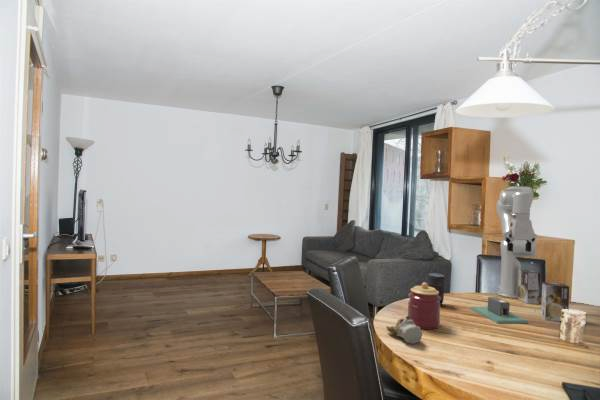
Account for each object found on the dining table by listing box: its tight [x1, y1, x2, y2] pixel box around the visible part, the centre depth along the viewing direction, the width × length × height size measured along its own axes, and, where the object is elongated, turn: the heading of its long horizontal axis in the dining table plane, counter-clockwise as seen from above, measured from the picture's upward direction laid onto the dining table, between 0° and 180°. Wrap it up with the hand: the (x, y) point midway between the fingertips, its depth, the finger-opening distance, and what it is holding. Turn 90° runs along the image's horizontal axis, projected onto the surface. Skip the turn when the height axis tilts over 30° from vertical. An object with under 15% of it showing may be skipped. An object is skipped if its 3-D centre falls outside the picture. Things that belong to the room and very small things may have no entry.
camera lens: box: [426, 272, 446, 307], centre depth 189 cm, size 8×8×15 cm
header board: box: [470, 306, 528, 324], centre depth 175 cm, size 20×14×4 cm
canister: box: [406, 281, 442, 330], centre depth 159 cm, size 13×13×18 cm
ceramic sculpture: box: [385, 316, 423, 345], centre depth 143 cm, size 11×9×15 cm
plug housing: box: [487, 296, 510, 316], centre depth 175 cm, size 9×4×6 cm, turn 7°
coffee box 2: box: [540, 281, 570, 322], centre depth 173 cm, size 9×6×16 cm
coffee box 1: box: [517, 269, 541, 305], centre depth 202 cm, size 9×6×16 cm
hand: (519, 251), depth 190 cm, fingers open, 9 cm apart
